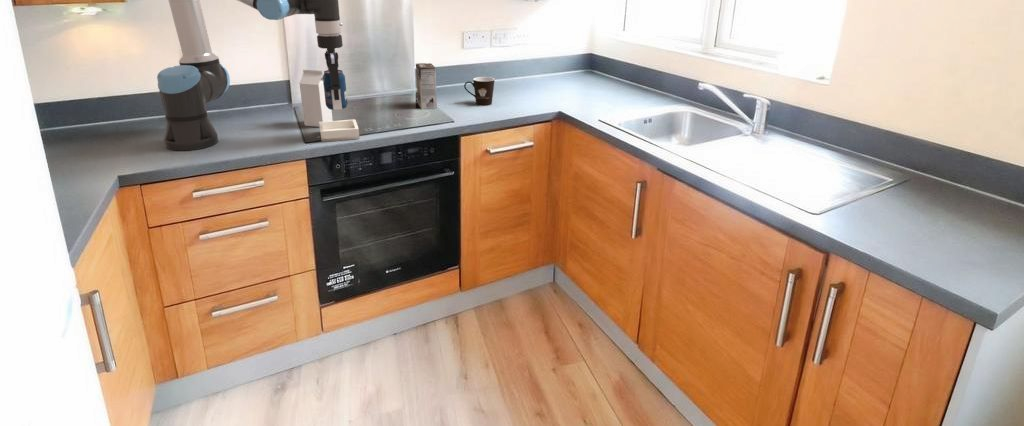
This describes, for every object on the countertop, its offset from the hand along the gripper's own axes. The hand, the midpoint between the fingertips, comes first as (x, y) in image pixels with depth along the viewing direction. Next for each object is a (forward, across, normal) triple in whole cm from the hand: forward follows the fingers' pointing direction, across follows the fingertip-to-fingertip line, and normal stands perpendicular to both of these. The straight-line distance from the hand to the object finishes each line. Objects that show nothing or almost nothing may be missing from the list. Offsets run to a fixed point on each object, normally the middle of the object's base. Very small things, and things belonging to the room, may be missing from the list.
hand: (336, 106), depth 198 cm
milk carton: (+10, +16, +6) cm, 20 cm away
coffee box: (+10, +32, -36) cm, 49 cm away
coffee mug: (+10, +31, -58) cm, 66 cm away
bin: (+10, 0, 0) cm, 10 cm away
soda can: (+1, 0, 0) cm, 1 cm away
